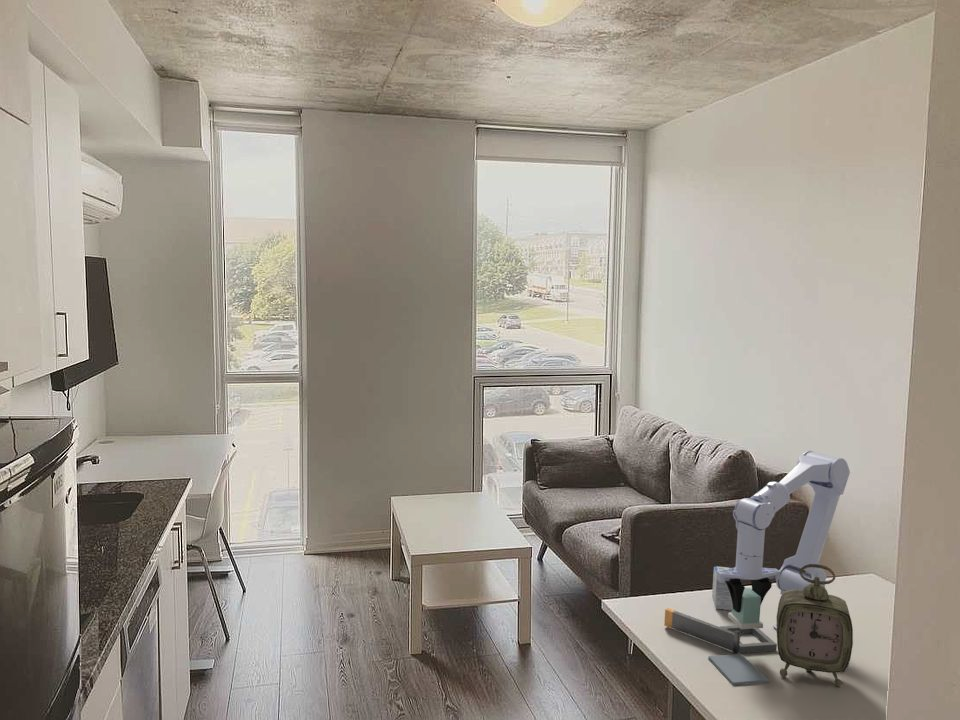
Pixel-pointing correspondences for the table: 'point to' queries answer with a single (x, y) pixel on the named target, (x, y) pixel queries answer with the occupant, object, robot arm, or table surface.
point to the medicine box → (721, 592)
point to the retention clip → (703, 630)
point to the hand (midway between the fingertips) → (745, 610)
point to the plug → (748, 611)
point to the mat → (737, 669)
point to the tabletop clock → (814, 629)
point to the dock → (754, 647)
